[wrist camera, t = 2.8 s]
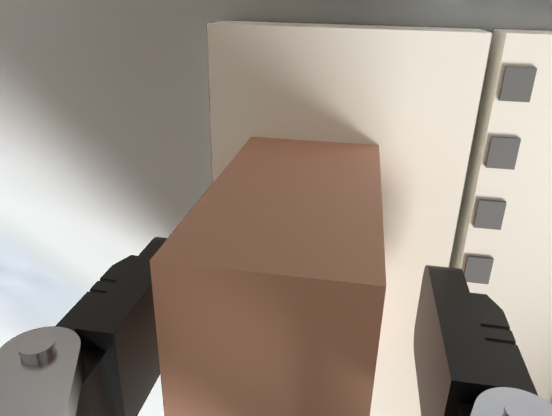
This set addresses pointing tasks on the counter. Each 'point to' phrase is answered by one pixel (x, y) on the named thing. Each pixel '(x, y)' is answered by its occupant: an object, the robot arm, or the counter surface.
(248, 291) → the salmon block with base
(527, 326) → the board
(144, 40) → the counter surface
